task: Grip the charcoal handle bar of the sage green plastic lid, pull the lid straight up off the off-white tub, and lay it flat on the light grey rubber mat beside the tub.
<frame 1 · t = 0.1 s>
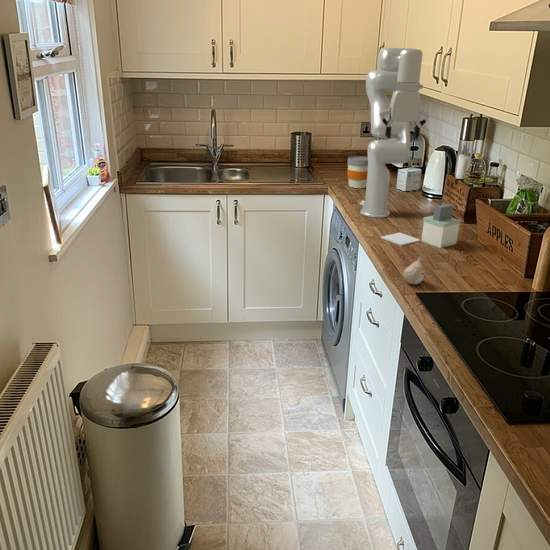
hand: (401, 138, 198), 37 cm above the countertop, tool pointing down, fingers open, 9 cm apart
tub: (438, 242, 209), on the countertop
garlic bulb: (412, 283, 172), on the countertop
light bulb box: (407, 190, 286), on the countertop
reusable coffee cup: (357, 187, 289), on the countertop
lid: (441, 222, 206), point 8 cm above the countertop, touching tub
mat: (400, 239, 211), on the countertop
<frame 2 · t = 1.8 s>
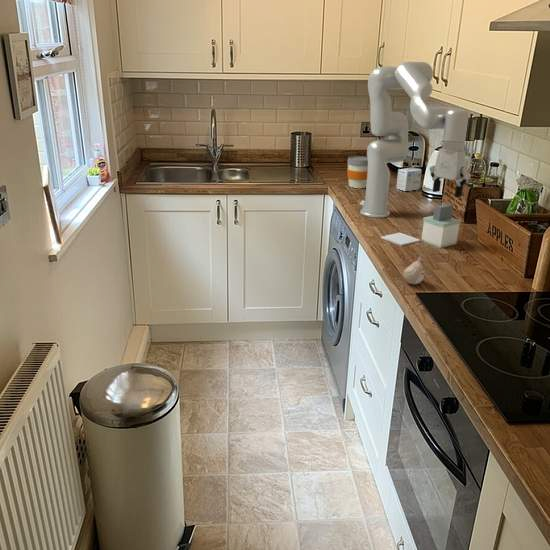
hand: (446, 194, 201), 19 cm above the countertop, tool pointing down, fingers open, 9 cm apart
nothing on the countertop moved.
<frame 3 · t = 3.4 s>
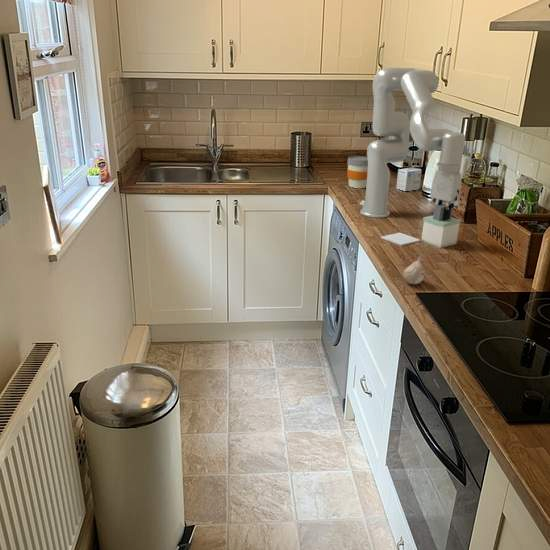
hand: (442, 217, 205), 10 cm above the countertop, tool pointing down, fingers closed on lid, 2 cm apart
lid: (441, 221, 206), point 8 cm above the countertop, touching gripper
everything else where it was.
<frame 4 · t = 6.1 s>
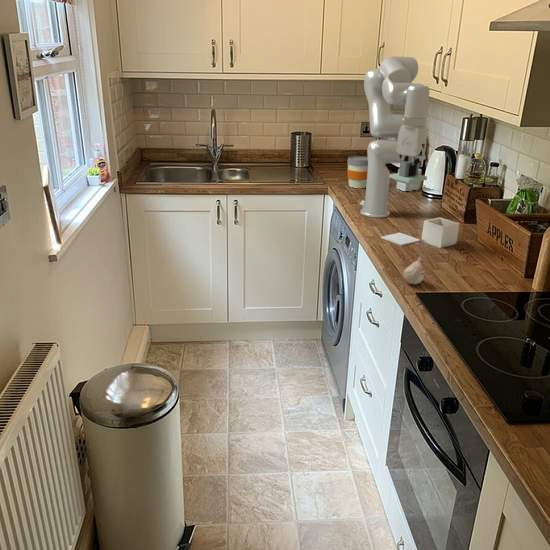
hand: (408, 174, 201), 25 cm above the countertop, tool pointing down, fingers closed on lid, 2 cm apart
lid: (407, 178, 202), point 23 cm above the countertop, touching gripper
everything else where it was.
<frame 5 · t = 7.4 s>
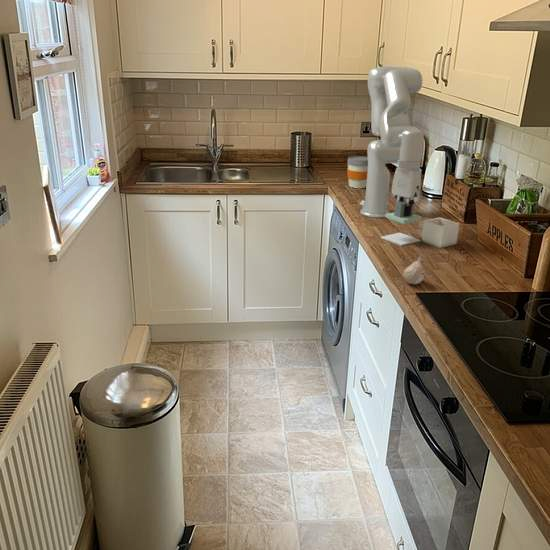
hand: (403, 214, 207), 10 cm above the countertop, tool pointing down, fingers closed on lid, 2 cm apart
lid: (403, 218, 207), point 8 cm above the countertop, touching gripper
everything else where it was.
when the fingers open (5 cm above the countertop, at t = 8.8 s): lid drops 2 cm, resting on mat.
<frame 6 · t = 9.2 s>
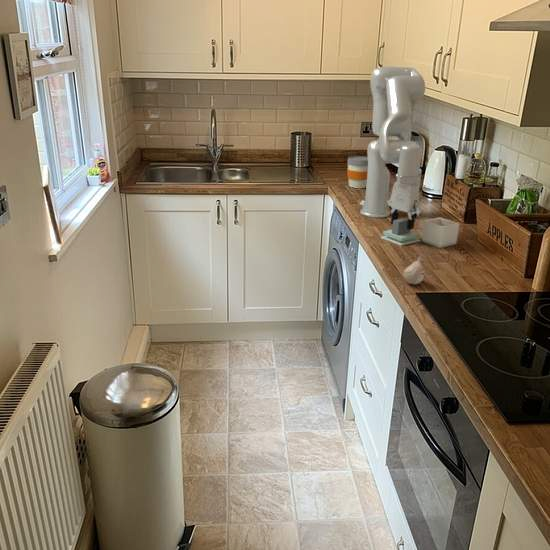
hand: (401, 226, 209), 5 cm above the countertop, tool pointing down, fingers open, 7 cm apart
lid: (400, 235, 210), point 1 cm above the countertop, touching mat
everything else where it was.
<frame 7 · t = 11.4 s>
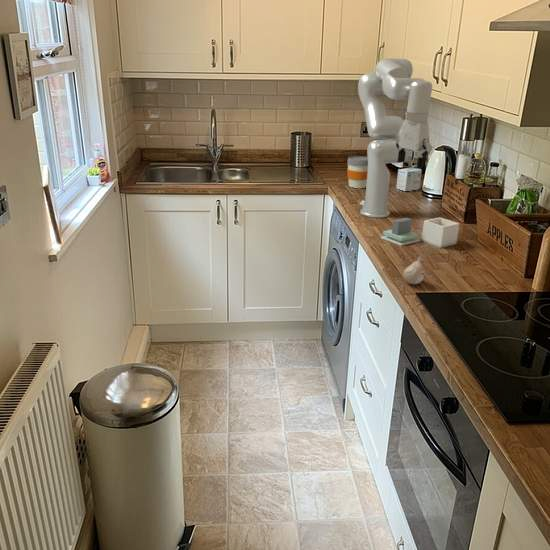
hand: (410, 164, 206), 27 cm above the countertop, tool pointing down, fingers open, 9 cm apart
nothing on the countertop moved.
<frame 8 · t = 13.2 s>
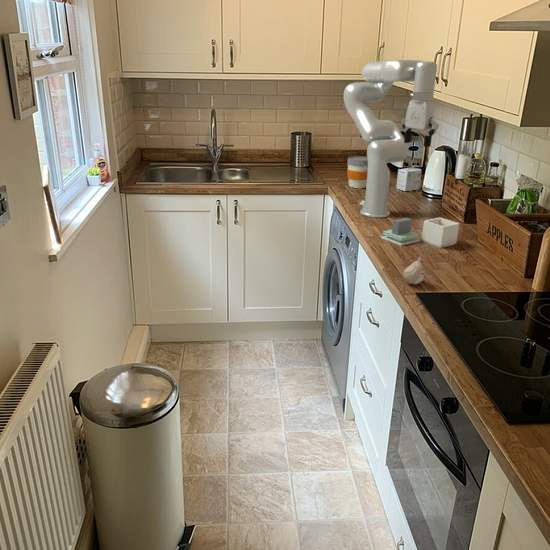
hand: (416, 144, 211), 33 cm above the countertop, tool pointing down, fingers open, 9 cm apart
nothing on the countertop moved.
at the end: lid 0.1 cm off-centre on the mat, point 1.5 cm above the mat's base; lid tilted 0°; the gripper is holding nothing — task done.
